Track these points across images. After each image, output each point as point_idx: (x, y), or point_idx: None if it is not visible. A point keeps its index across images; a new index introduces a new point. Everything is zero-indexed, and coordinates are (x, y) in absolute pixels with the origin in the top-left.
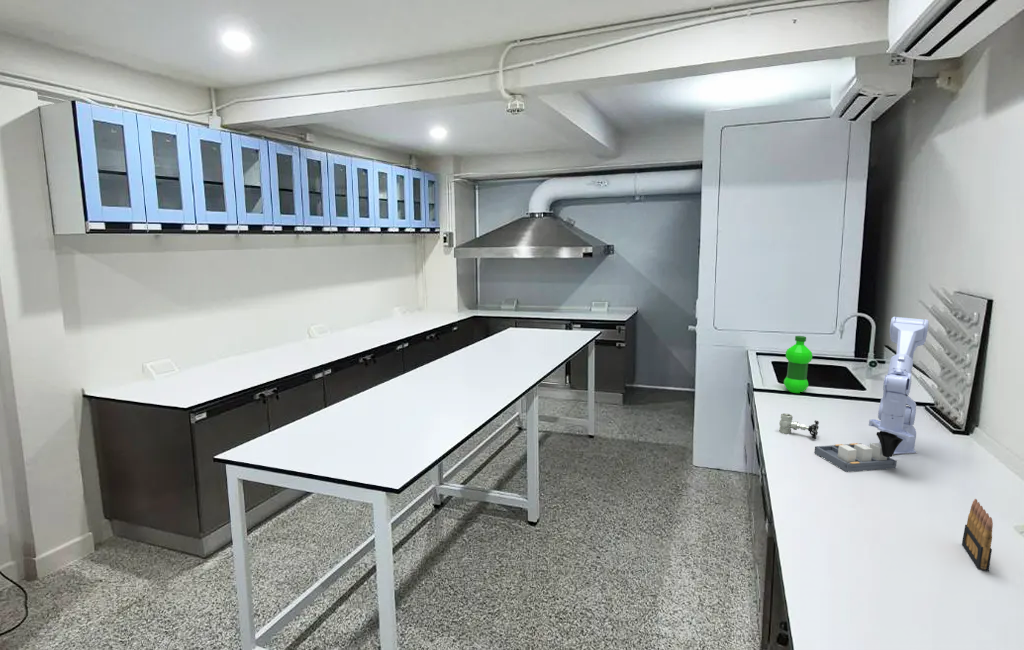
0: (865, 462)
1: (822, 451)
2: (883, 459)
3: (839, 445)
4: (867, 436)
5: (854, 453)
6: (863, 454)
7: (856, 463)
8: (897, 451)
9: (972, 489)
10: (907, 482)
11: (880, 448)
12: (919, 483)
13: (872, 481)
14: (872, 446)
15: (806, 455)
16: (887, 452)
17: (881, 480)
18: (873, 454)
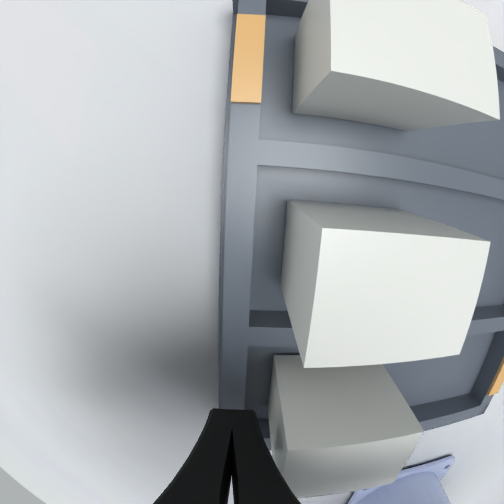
0: (236, 179)
1: (502, 55)
2: (271, 401)
3: (485, 17)
4: (486, 464)
5: (316, 57)
6: (309, 212)
7: (233, 62)
8: (361, 501)
9: (32, 459)
10: (37, 309)
11: (287, 450)
12: (35, 356)
13: (65, 88)
14: (387, 424)
15: (495, 22)
16: (200, 446)
17: (63, 163)
18: (342, 379)
